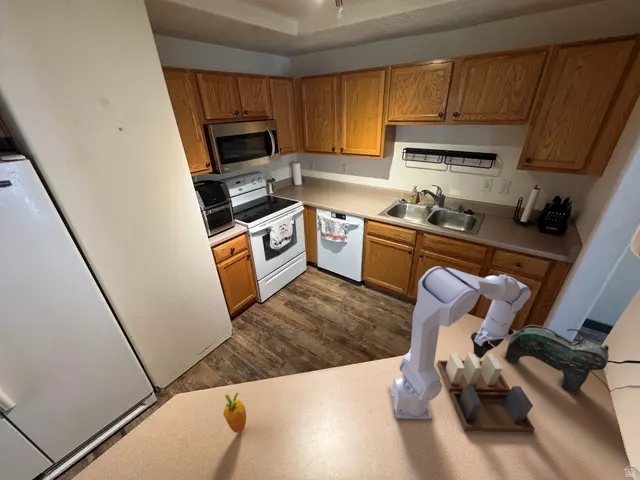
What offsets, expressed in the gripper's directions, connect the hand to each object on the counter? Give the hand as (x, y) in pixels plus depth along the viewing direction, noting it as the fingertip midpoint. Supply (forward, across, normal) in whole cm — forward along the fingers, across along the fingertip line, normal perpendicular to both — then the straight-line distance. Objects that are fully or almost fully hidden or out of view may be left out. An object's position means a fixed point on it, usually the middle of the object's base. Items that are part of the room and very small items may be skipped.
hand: (485, 349), depth 77 cm
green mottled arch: (+10, +16, -10) cm, 22 cm away
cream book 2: (+10, -5, 0) cm, 11 cm away
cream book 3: (+10, 0, -3) cm, 10 cm away
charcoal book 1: (+10, -14, -6) cm, 18 cm away
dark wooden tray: (+10, -9, -9) cm, 16 cm away
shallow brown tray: (+10, -4, -1) cm, 11 cm away
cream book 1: (+10, -9, +2) cm, 13 cm away
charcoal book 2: (+10, -4, -12) cm, 16 cm away
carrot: (+10, -69, +20) cm, 73 cm away
